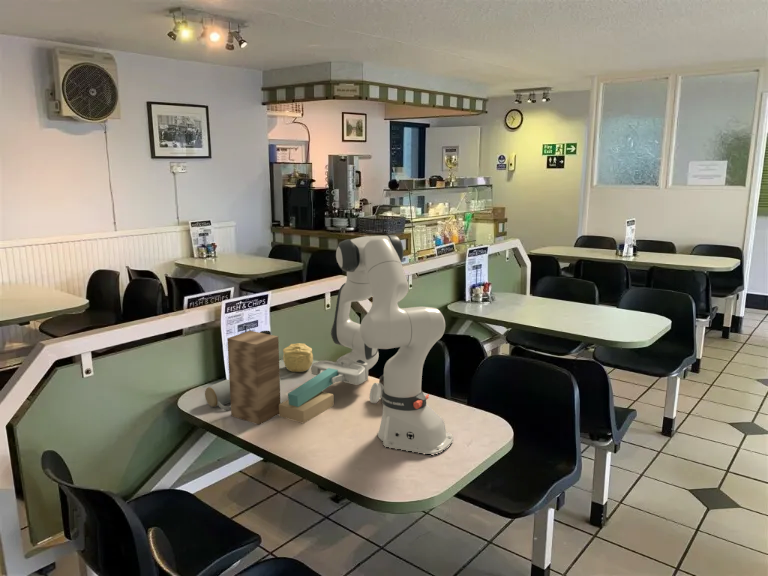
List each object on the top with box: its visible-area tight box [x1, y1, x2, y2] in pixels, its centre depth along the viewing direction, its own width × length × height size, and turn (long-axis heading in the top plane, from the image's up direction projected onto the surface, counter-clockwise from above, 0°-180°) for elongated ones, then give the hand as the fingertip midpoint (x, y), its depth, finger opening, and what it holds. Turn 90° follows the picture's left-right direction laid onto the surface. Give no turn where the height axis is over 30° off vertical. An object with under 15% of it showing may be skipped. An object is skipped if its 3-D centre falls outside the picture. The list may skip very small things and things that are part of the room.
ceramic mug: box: [204, 378, 231, 411], centre depth 195 cm, size 11×8×8 cm
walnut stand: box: [227, 330, 282, 426], centre depth 186 cm, size 12×10×26 cm
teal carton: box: [287, 368, 338, 407], centre depth 194 cm, size 4×22×4 cm, turn 149°
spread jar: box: [369, 373, 384, 404], centre depth 198 cm, size 12×11×12 cm
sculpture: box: [282, 342, 314, 373], centre depth 228 cm, size 12×12×11 cm
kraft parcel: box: [278, 390, 335, 424], centre depth 191 cm, size 10×16×4 cm, turn 149°
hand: (324, 379), depth 199 cm, fingers closed on teal carton, 4 cm apart
